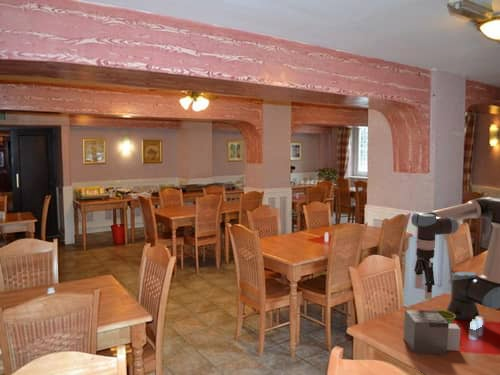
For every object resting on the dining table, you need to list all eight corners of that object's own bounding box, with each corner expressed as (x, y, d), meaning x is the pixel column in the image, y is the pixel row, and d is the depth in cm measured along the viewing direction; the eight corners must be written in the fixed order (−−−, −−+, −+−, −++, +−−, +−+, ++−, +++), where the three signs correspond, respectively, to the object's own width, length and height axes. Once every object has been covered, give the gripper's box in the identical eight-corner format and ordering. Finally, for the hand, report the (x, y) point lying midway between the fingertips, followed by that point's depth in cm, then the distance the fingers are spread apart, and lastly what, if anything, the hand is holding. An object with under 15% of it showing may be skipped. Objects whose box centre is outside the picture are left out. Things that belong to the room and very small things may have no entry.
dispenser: (434, 340, 186) (436, 310, 184) (446, 354, 173) (448, 323, 171) (403, 338, 186) (405, 309, 185) (413, 353, 174) (415, 322, 172)
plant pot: (452, 328, 198) (454, 311, 197) (455, 337, 189) (457, 319, 188) (432, 325, 201) (433, 309, 200) (434, 334, 192) (435, 316, 191)
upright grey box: (454, 345, 181) (455, 323, 180) (459, 350, 176) (460, 328, 175) (431, 344, 182) (432, 322, 181) (435, 349, 177) (437, 327, 176)
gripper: (408, 241, 197) (406, 283, 199) (426, 255, 172) (423, 303, 174) (424, 242, 196) (422, 284, 198) (444, 255, 171) (441, 304, 173)
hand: (423, 293), depth 186 cm, fingers open, 13 cm apart
